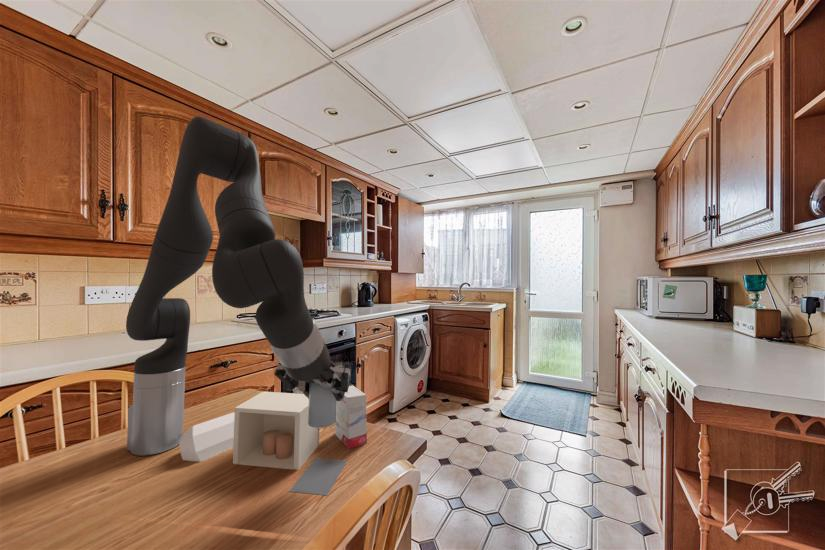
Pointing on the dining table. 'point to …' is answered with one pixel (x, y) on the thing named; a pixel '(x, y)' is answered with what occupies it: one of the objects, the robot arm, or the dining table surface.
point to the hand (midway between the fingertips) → (326, 395)
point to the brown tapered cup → (270, 442)
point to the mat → (319, 477)
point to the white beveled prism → (208, 439)
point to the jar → (321, 406)
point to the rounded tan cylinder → (283, 445)
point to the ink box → (351, 418)
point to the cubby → (273, 415)
